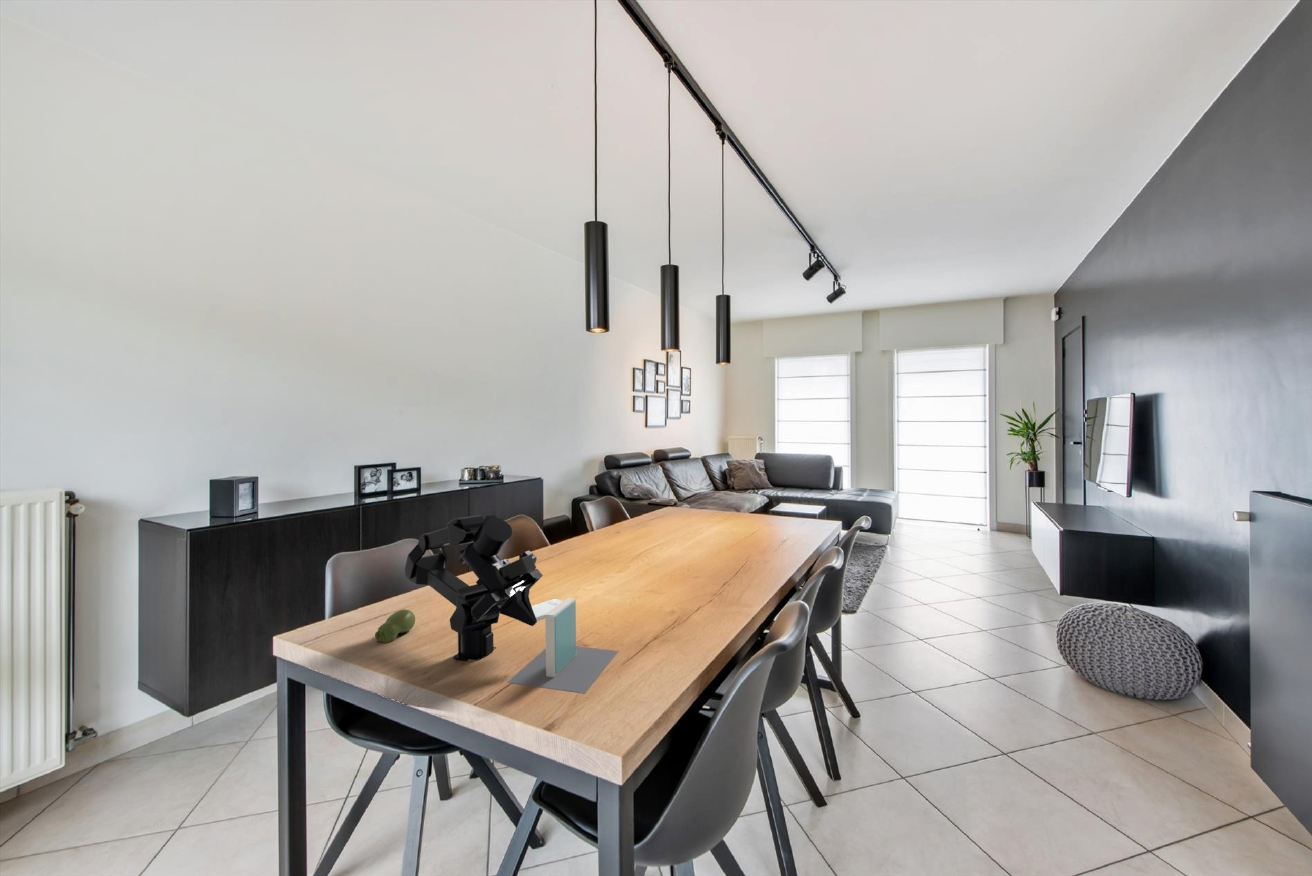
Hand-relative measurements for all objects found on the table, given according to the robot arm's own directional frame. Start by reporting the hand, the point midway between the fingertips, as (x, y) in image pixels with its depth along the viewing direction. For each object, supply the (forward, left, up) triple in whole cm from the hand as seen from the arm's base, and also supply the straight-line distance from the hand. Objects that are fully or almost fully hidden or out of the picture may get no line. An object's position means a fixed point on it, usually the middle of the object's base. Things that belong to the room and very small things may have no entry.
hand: (534, 624), depth 102 cm
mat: (+7, 0, -8) cm, 11 cm away
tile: (+6, 0, -8) cm, 10 cm away
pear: (-40, +6, -9) cm, 41 cm away
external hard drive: (-13, +29, -9) cm, 33 cm away
